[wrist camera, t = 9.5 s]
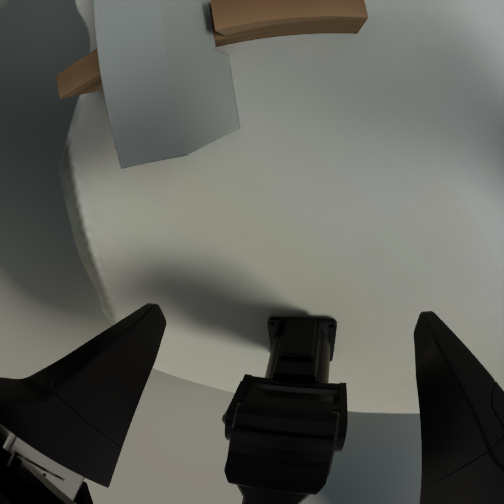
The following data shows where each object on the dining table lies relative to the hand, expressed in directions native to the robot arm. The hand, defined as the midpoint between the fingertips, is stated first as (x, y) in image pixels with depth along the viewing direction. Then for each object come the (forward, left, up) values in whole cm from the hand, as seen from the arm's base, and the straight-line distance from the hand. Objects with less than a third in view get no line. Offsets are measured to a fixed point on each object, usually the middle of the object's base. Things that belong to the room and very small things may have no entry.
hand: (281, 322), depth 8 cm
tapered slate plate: (+12, +6, -12) cm, 18 cm away
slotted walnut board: (+12, +6, -12) cm, 17 cm away
